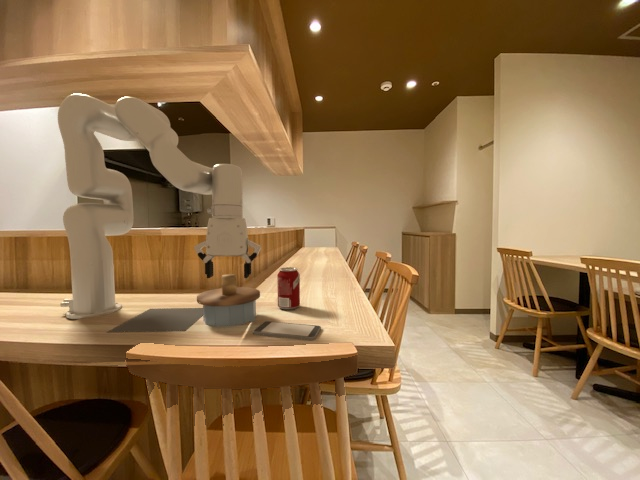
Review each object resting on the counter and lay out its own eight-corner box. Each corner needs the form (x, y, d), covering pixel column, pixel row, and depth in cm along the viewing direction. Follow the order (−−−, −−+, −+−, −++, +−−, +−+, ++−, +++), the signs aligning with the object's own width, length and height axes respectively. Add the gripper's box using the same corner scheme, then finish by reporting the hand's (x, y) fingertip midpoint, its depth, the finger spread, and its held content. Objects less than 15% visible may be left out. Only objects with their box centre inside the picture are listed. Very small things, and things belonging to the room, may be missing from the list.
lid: (186, 306, 66) (185, 282, 65) (209, 290, 82) (208, 270, 81) (254, 305, 67) (253, 281, 66) (264, 289, 83) (263, 270, 82)
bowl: (196, 329, 68) (195, 305, 67) (214, 312, 81) (213, 291, 80) (249, 328, 68) (249, 304, 68) (258, 311, 81) (258, 291, 81)
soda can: (289, 312, 80) (288, 271, 80) (273, 308, 85) (272, 269, 84) (304, 306, 86) (304, 268, 85) (288, 303, 90) (288, 266, 89)
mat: (106, 334, 64) (106, 332, 64) (150, 310, 82) (150, 308, 82) (185, 333, 65) (185, 330, 65) (211, 309, 83) (211, 307, 83)
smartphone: (265, 320, 72) (321, 325, 68) (265, 324, 72) (321, 330, 68) (251, 331, 64) (313, 337, 61) (251, 335, 65) (313, 342, 61)
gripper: (188, 212, 69) (189, 280, 70) (258, 212, 70) (258, 280, 71) (199, 213, 76) (200, 274, 77) (263, 213, 77) (263, 274, 78)
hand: (228, 277), depth 74 cm, fingers open, 9 cm apart
